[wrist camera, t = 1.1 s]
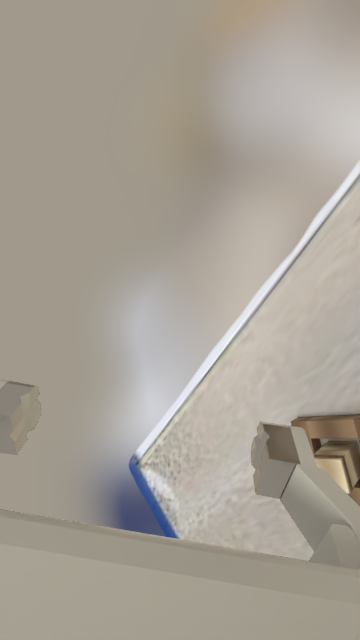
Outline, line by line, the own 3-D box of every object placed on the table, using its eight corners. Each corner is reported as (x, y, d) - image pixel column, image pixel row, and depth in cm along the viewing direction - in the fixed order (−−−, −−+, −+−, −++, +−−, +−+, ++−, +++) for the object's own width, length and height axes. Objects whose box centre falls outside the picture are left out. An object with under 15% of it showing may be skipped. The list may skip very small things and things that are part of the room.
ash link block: (356, 441, 45) (340, 459, 39) (364, 470, 44) (349, 494, 38) (327, 440, 48) (308, 458, 42) (334, 469, 47) (316, 490, 41)
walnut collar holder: (378, 413, 43) (373, 418, 41) (403, 502, 41) (400, 512, 39) (298, 417, 51) (290, 421, 48) (316, 492, 49) (309, 500, 46)
